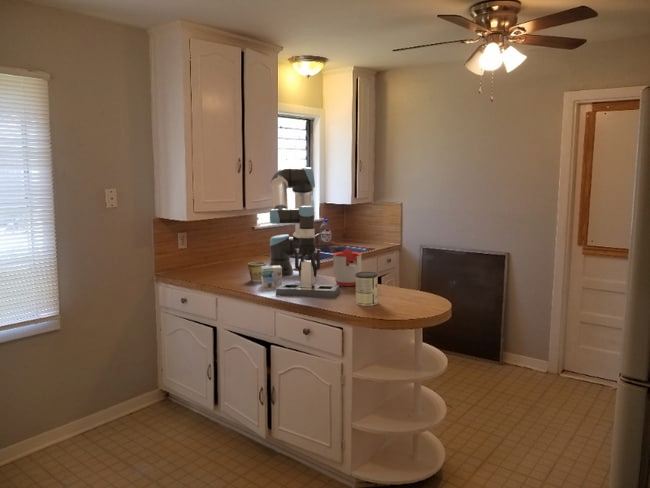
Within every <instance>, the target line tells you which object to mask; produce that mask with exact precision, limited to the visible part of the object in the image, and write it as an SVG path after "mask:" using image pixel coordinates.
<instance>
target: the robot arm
mask: <svg viewBox="0 0 650 488" xmlns="http://www.w3.org/2000/svg"><path fill="white" fill-rule="evenodd" d="M315 181H316V180H315V175H314V170H313V167H306V166H297V167H294V166H293V167H283V168H280V169H279V170H277V171H276V172H275V173H274V174H273V176H272V178H271V180H270V187H271V189H272V201H273V202H272V205H273V208H271V209H270V210H269V223H270V224H272V225H273V224H274V225H275V224H276V225H282V224H284V225H285V224H295V231H294V232H293V233H292V236H290V235H289V234H288V233H285V234H277V235H274V236H271V238H270V239H269V250H270V251H269V254H270V255H269V257H270V258H269V259H270V260H269V265H268V266H276V265H280V266H281V267H282V277H283V276H284V277H285V276H290V275H293V274H294V269H296V270H298V276H299V277H300V284H302V269H301V262H303V261H304V260H305V257H308V256H309V259H310V260H311V262H312V266H313V270H312V283H314V284H316V277H317V275H318V274H317V273H318V271H317V270H319V269H321V252H322V250H321V249H320V248H317V247H316V237H315V208H314V206H313V205H311V193H312V192H313V189H314V188H316V182H315ZM287 189H292V190H291V191H292V192H293V194H294V203H295V204H294V208H288V207H289V206H288V190H287ZM314 253H315V256H316V260H315V257H314ZM291 257H294V268H293V265H292V263H291ZM299 257H301V258H300V260H299ZM299 261H300V262H299Z"/></svg>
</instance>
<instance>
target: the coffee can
mask: <svg viewBox="0 0 650 488" xmlns="http://www.w3.org/2000/svg"><path fill="white" fill-rule="evenodd" d="M378 275H379V274H378V273H377V272H374V271H361V272H358V273H356V274H355V276H356V286H355V304H356V305H357V306H363V307H364V306H365V307H368V306H369V307H370V306H371V307H373V306H376V305H377V304H378Z"/></svg>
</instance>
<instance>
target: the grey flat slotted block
mask: <svg viewBox="0 0 650 488" xmlns="http://www.w3.org/2000/svg"><path fill="white" fill-rule="evenodd" d="M340 292H341V286H340V285H337V284H317V283H314V288H313V289H310V288H302V283H290V282H289V283H286V282H282V285H280V286H279V287H275V296H277V297H279V296H280V297H281V296H282V297H302V298H305V297H307V298H328V299H335V298H336V297H337V296H338V295H339V294H340Z"/></svg>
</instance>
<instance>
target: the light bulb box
mask: <svg viewBox="0 0 650 488" xmlns="http://www.w3.org/2000/svg"><path fill="white" fill-rule="evenodd" d="M260 283H261V287H262V289H266V288H269V289H270V288H277V287H279V286H280V285H282V284H283V276H282V267H281V266H280V265H276V266H269V265H265V266H261V281H260Z"/></svg>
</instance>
